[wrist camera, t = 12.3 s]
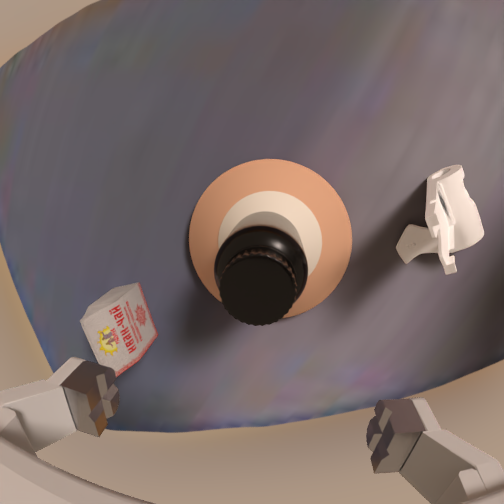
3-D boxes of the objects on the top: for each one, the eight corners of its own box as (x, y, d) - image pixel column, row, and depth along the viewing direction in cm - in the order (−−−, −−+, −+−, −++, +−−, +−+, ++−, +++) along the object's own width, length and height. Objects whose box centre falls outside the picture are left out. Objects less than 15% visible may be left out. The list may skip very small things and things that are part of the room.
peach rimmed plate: (357, 168, 30) (361, 168, 28) (336, 318, 34) (338, 325, 32) (197, 155, 31) (192, 154, 29) (191, 304, 35) (187, 310, 33)
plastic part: (471, 225, 30) (535, 248, 19) (403, 266, 32) (453, 308, 21) (448, 164, 29) (514, 165, 18) (376, 204, 31) (425, 220, 19)
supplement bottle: (218, 259, 32) (183, 307, 20) (250, 197, 30) (231, 212, 18) (279, 292, 32) (277, 356, 20) (314, 232, 30) (334, 269, 19)
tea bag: (132, 338, 37) (95, 382, 27) (113, 287, 35) (67, 322, 26) (158, 334, 36) (123, 381, 27) (139, 282, 35) (95, 318, 25)
